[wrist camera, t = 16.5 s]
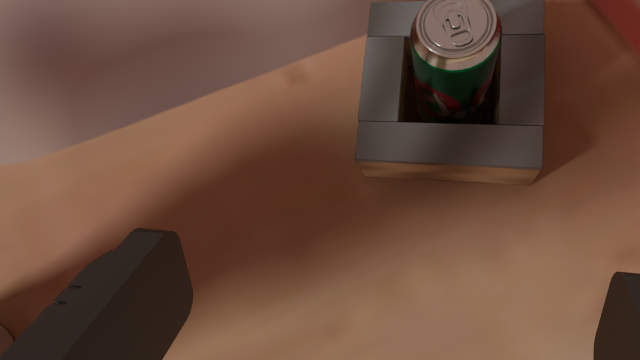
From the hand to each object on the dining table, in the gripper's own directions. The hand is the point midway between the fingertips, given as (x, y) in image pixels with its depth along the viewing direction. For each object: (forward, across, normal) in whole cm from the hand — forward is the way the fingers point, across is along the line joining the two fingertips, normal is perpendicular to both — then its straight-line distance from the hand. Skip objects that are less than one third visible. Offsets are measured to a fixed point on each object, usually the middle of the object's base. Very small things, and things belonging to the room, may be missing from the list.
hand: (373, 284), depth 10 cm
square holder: (+31, -1, +9) cm, 32 cm away
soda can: (+31, -1, +9) cm, 32 cm away
